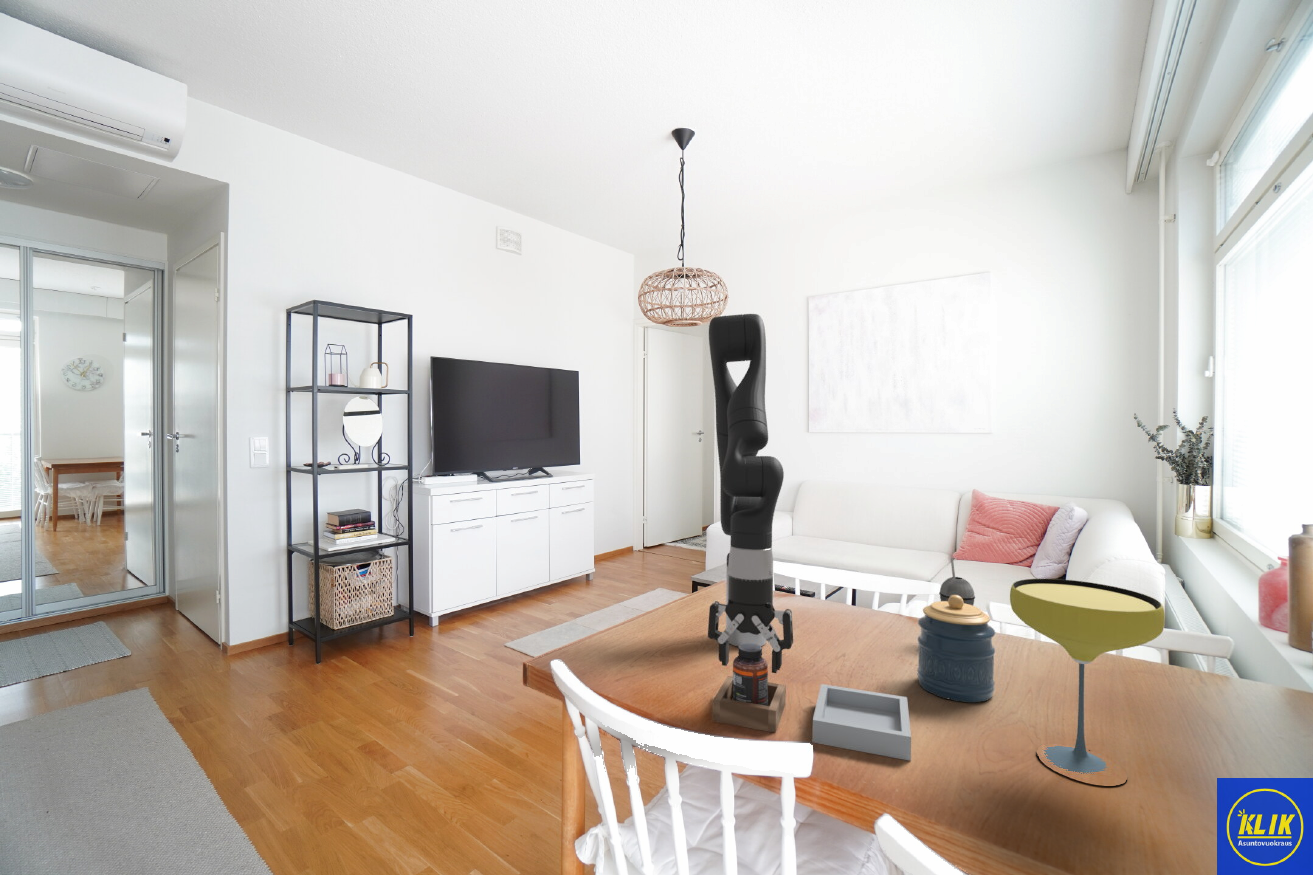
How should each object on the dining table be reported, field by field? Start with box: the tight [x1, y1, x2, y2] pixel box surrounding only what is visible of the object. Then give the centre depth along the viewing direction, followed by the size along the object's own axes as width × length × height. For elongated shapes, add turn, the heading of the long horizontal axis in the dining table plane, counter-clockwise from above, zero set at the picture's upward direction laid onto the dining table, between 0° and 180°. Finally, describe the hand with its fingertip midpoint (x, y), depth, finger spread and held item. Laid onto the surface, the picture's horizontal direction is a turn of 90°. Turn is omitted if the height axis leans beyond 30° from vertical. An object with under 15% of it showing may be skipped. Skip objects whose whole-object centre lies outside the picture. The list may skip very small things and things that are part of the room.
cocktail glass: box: [1009, 578, 1166, 774], centre depth 86 cm, size 18×18×25 cm
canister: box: [917, 595, 996, 703], centre depth 111 cm, size 13×13×18 cm
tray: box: [812, 683, 912, 762], centre depth 95 cm, size 14×14×4 cm
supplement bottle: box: [732, 643, 769, 706], centre depth 101 cm, size 6×6×11 cm
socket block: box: [712, 675, 787, 733], centre depth 101 cm, size 10×10×4 cm
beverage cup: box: [939, 557, 976, 606], centre depth 133 cm, size 7×7×20 cm
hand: (749, 667), depth 101 cm, fingers open, 8 cm apart
